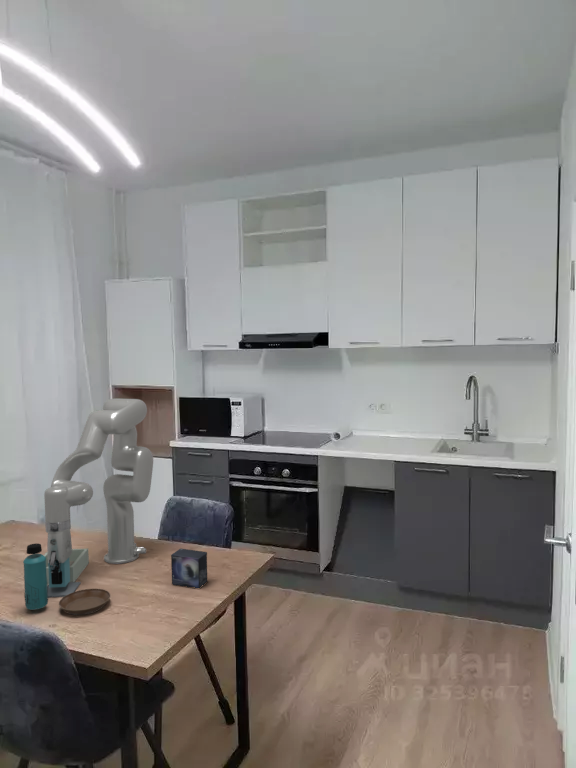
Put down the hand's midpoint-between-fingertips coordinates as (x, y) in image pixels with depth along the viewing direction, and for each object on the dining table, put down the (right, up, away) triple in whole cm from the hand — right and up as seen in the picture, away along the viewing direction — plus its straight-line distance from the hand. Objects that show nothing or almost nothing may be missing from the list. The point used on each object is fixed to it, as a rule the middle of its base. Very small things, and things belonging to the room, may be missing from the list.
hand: (60, 579), depth 181 cm
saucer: (+12, -5, -11) cm, 18 cm away
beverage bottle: (-2, -5, -13) cm, 14 cm away
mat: (0, -4, 0) cm, 4 cm away
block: (0, -1, 0) cm, 1 cm away
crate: (-6, -3, +14) cm, 16 cm away
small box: (+41, -3, +5) cm, 42 cm away
